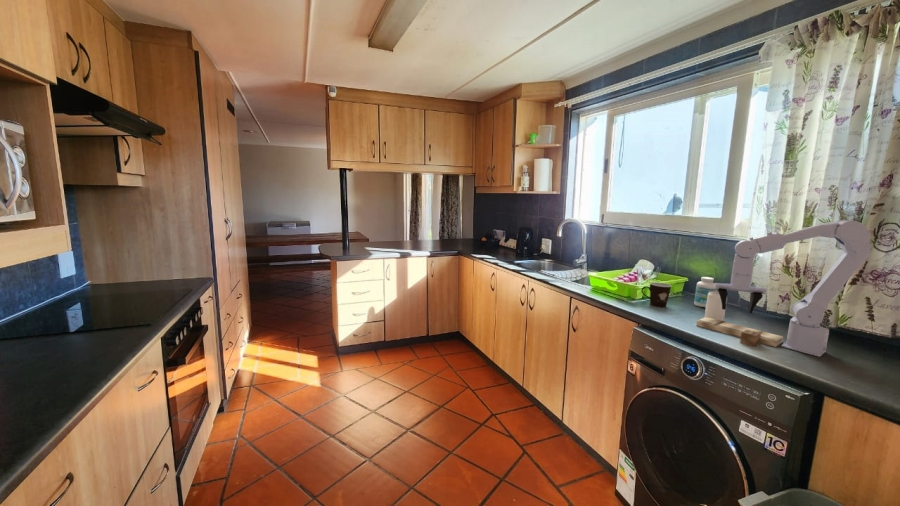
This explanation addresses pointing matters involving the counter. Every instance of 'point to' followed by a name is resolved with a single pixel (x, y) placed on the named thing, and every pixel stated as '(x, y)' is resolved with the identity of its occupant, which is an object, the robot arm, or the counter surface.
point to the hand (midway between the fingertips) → (736, 310)
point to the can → (714, 306)
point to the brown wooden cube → (750, 338)
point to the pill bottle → (703, 291)
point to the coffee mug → (658, 294)
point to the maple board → (738, 330)
